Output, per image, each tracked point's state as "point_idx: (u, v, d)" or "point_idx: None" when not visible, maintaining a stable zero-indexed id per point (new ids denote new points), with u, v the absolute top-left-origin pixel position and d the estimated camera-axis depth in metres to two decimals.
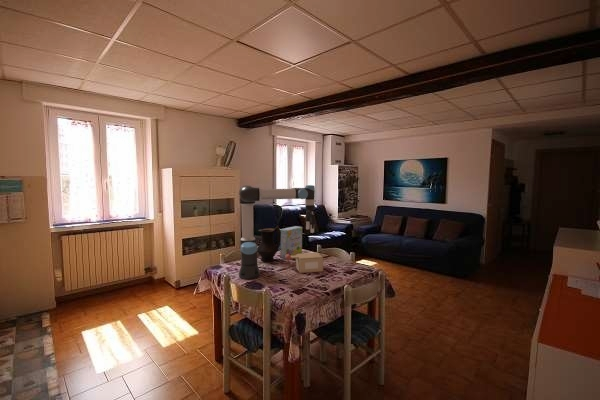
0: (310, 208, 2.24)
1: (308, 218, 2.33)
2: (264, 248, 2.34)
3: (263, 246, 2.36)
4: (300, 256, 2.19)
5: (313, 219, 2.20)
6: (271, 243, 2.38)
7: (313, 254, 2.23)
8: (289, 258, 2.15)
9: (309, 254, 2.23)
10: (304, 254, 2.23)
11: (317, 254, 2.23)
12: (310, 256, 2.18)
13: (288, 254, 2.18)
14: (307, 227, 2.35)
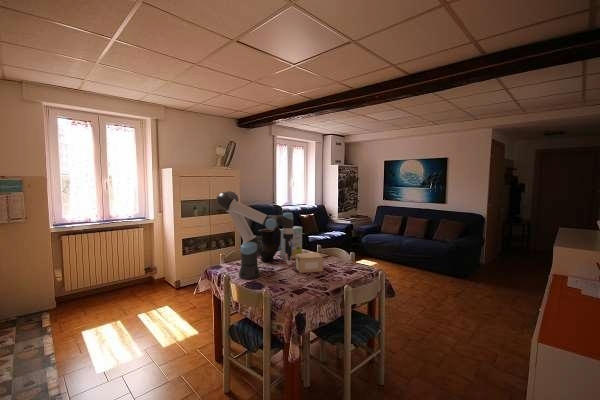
0: (288, 237, 2.12)
1: None
2: (264, 248, 2.34)
3: (263, 246, 2.36)
4: (300, 256, 2.19)
5: (290, 251, 2.11)
6: (271, 243, 2.38)
7: (313, 254, 2.23)
8: None
9: (309, 254, 2.23)
10: (304, 254, 2.23)
11: (317, 254, 2.23)
12: (310, 256, 2.18)
13: None
14: (287, 260, 2.20)
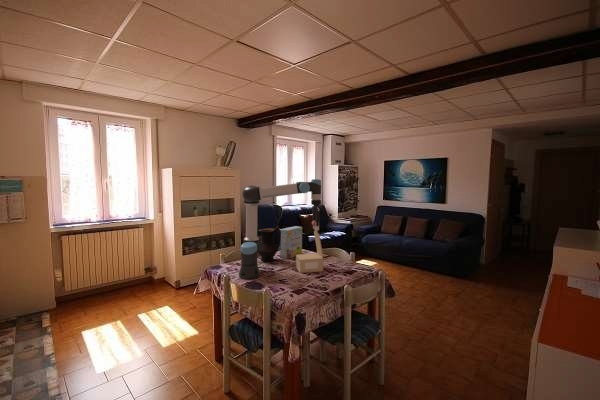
0: (316, 203, 2.15)
1: (315, 215, 2.22)
2: (264, 248, 2.34)
3: (263, 246, 2.36)
4: None
5: (318, 216, 2.13)
6: (271, 243, 2.38)
7: None
8: None
9: None
10: None
11: None
12: None
13: None
14: None
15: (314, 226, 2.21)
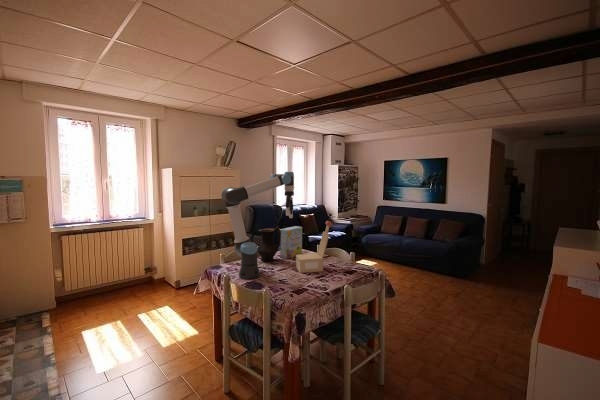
0: (289, 194, 2.28)
1: (288, 204, 2.37)
2: (264, 248, 2.34)
3: (263, 246, 2.36)
4: None
5: (291, 204, 2.24)
6: (271, 243, 2.38)
7: None
8: (329, 224, 2.20)
9: None
10: None
11: None
12: None
13: None
14: (287, 213, 2.39)
15: (326, 226, 2.24)
